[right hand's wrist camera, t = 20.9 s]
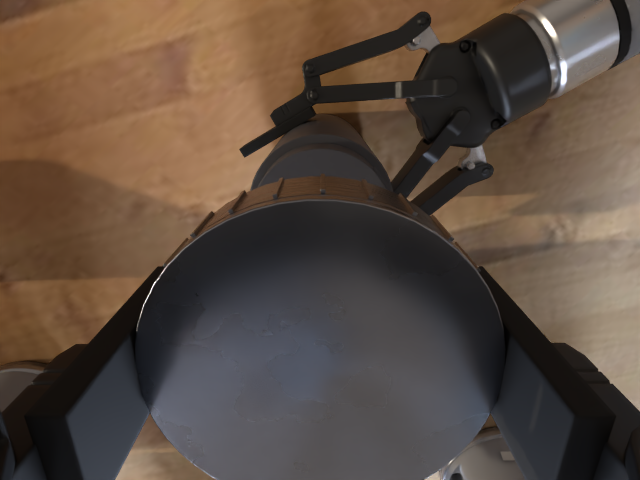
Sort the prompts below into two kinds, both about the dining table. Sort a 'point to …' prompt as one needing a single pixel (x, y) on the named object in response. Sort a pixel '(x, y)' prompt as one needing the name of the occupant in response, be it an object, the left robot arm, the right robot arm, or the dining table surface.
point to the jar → (322, 154)
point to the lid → (320, 338)
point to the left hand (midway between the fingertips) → (275, 199)
